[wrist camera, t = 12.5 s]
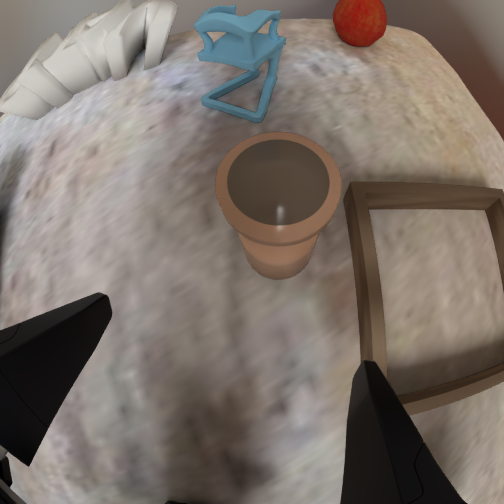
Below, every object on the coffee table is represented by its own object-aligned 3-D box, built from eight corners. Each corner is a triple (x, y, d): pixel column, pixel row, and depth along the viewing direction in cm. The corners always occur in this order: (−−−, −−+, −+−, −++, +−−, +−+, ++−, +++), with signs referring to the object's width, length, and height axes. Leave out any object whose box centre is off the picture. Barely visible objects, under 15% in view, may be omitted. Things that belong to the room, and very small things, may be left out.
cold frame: (513, 367, 17) (532, 366, 14) (361, 414, 18) (373, 423, 15) (488, 202, 22) (502, 189, 20) (343, 199, 24) (350, 181, 21)
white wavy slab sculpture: (193, 26, 37) (180, -20, 27) (188, 71, 32) (169, 9, 22) (40, 86, 39) (18, 55, 29) (12, 142, 34) (-20, 109, 24)
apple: (388, 58, 31) (402, 1, 20) (336, 51, 31) (343, -11, 21) (373, 34, 33) (382, -16, 23) (326, 28, 34) (330, -25, 24)
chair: (294, 84, 29) (295, -3, 18) (259, 124, 27) (249, 24, 16) (240, 69, 31) (228, -10, 20) (201, 105, 29) (175, 18, 18)
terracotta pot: (331, 256, 22) (366, 194, 13) (267, 300, 22) (259, 264, 12) (287, 199, 24) (291, 116, 15) (226, 237, 24) (193, 167, 14)
